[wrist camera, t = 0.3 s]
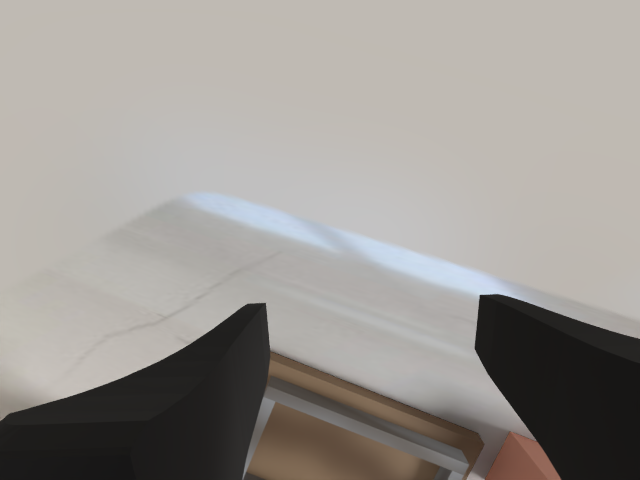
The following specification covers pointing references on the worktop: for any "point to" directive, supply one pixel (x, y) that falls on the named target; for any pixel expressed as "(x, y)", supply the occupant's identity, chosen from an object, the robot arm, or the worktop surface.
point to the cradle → (349, 433)
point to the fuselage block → (521, 461)
